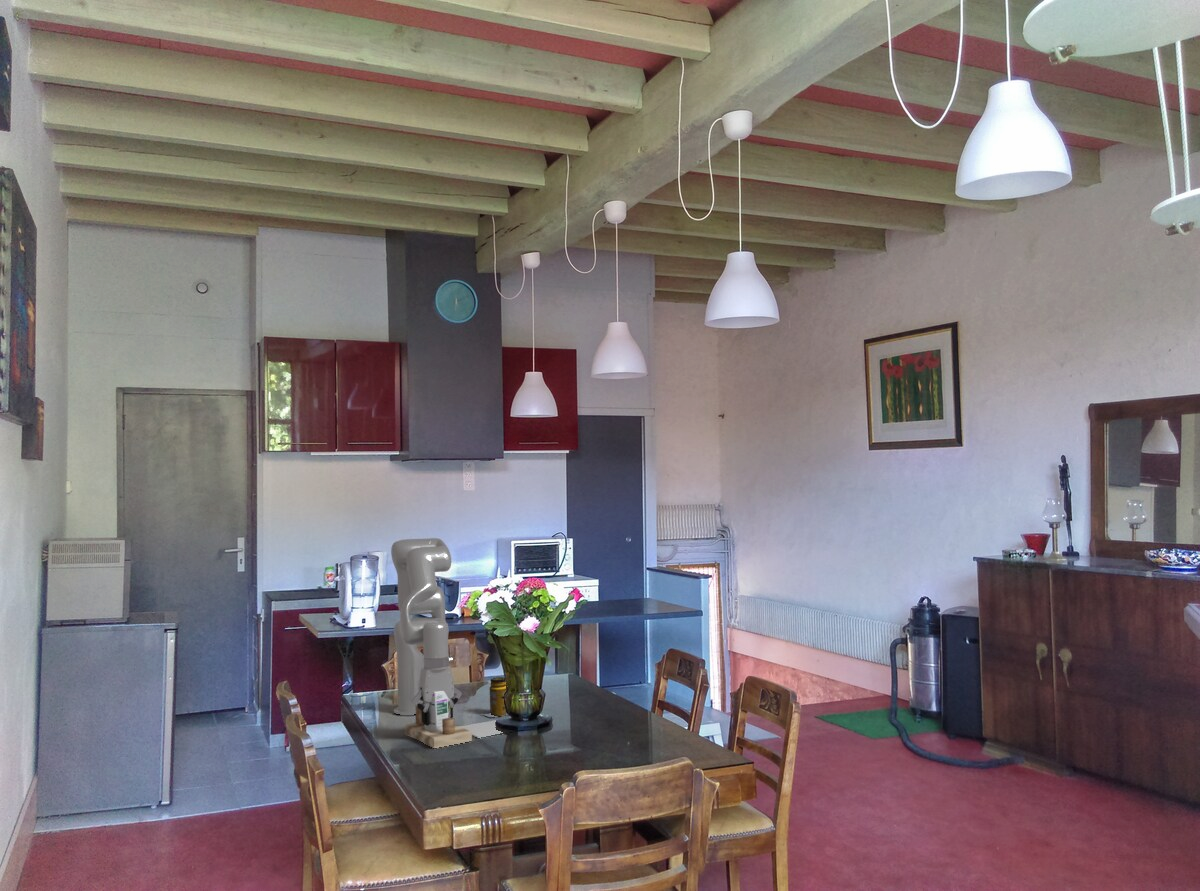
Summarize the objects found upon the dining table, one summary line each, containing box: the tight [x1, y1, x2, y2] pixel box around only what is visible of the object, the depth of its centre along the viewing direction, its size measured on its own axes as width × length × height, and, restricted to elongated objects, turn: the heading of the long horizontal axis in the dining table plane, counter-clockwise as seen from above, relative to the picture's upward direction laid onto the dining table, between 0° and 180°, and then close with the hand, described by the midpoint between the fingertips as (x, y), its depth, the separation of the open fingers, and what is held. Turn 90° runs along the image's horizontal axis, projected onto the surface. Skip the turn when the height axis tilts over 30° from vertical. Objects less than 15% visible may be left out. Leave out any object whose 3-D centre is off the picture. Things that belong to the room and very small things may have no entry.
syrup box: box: [425, 691, 451, 733], centre depth 284 cm, size 6×6×14 cm
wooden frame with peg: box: [404, 703, 473, 749], centre depth 284 cm, size 22×12×9 cm, turn 33°
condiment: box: [480, 676, 507, 717], centre depth 313 cm, size 7×8×12 cm
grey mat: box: [459, 719, 503, 739], centre depth 292 cm, size 16×16×1 cm
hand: (437, 722), depth 284 cm, fingers closed on syrup box, 6 cm apart
